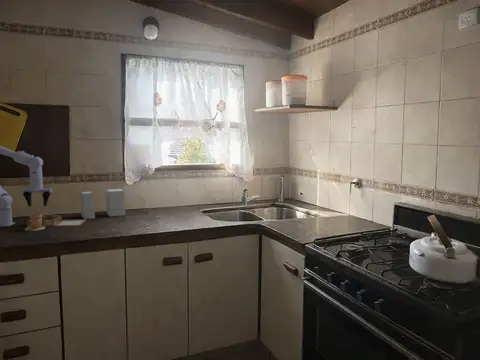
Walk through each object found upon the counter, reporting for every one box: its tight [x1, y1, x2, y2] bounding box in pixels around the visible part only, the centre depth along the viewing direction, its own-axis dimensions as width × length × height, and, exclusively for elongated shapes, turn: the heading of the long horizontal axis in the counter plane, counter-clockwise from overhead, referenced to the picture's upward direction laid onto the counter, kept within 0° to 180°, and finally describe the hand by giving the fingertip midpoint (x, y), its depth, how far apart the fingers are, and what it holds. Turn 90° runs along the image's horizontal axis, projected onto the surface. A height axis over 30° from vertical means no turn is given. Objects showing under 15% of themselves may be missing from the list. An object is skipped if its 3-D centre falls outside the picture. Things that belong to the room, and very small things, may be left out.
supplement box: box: [105, 188, 126, 217], centre depth 232 cm, size 9×9×15 cm
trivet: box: [24, 226, 46, 232], centre depth 195 cm, size 9×9×1 cm
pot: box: [29, 213, 43, 229], centre depth 195 cm, size 6×6×6 cm
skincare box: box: [79, 191, 96, 220], centre depth 222 cm, size 8×6×15 cm
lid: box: [54, 219, 87, 227], centre depth 207 cm, size 12×13×1 cm
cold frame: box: [26, 214, 63, 228], centre depth 205 cm, size 13×13×4 cm
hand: (37, 206), depth 204 cm, fingers open, 7 cm apart
